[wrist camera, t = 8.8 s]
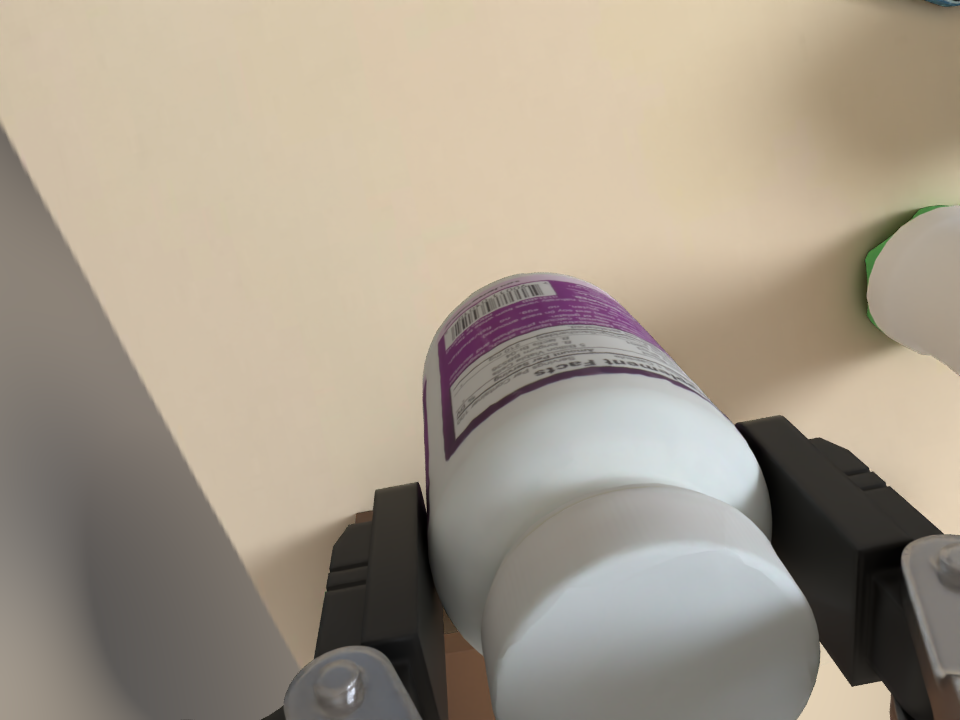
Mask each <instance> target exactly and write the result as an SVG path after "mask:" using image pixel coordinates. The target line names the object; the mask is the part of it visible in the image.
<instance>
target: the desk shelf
mask: <svg viewBox="0 0 960 720" xmlns="http://www.w3.org/2000/svg"><path fill="white" fill-rule="evenodd" d="M372 517H373V511H368V512H362V513H357V514H356V519H355V524H356V523H362V522H367V521H372ZM444 642H445V661H446V681H447V700H448V720H496V719H495V716H494V713H493V709H492V704H491V698H490V692H489V686H488V680H487V674H486V667H485V661H484V656H483V655H481V654H480V653H479V652H478V651H477V650H476V649H475V648H474V647H472V646H471V645H470V644H469V643H468V642H467V641H466V640H465V639H464V638H463V636H462V635H461V634H460V632H454V633H449V634H444Z"/></svg>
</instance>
